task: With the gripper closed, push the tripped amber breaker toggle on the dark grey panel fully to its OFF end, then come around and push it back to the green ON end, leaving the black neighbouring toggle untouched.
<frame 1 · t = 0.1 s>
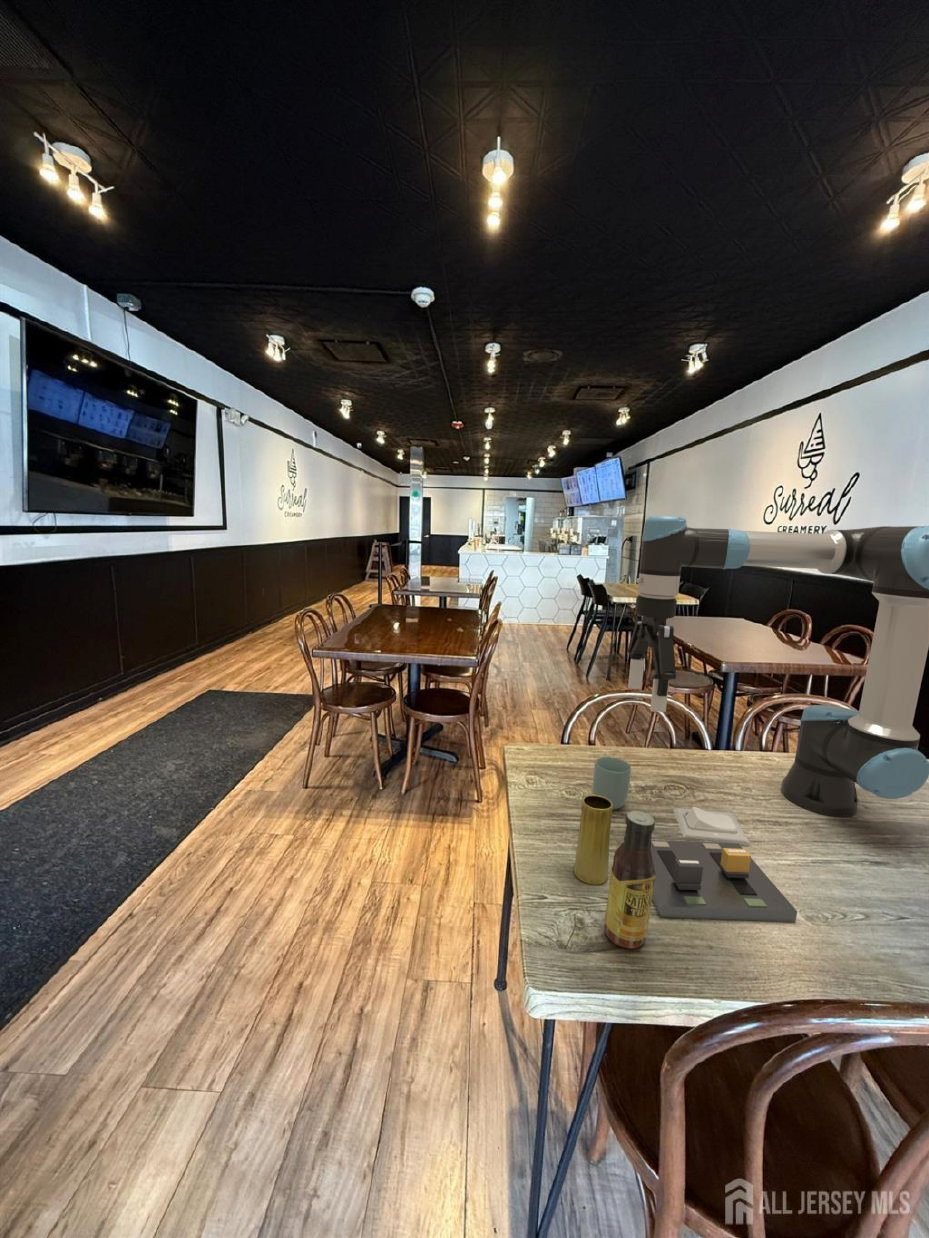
hand: (645, 699, 104), 28 cm above the table, fingers open, 13 cm apart
vase: (590, 874, 92), on the table
breaker panel: (702, 881, 92), on the table
light switch: (708, 830, 109), on the table
cup: (608, 805, 116), on the table
lever a: (735, 861, 90), point 5 cm above the table, slide at 0.5 cm
lever b: (687, 872, 87), point 5 cm above the table, slide at 4.0 cm
sauce bottle: (625, 936, 79), on the table
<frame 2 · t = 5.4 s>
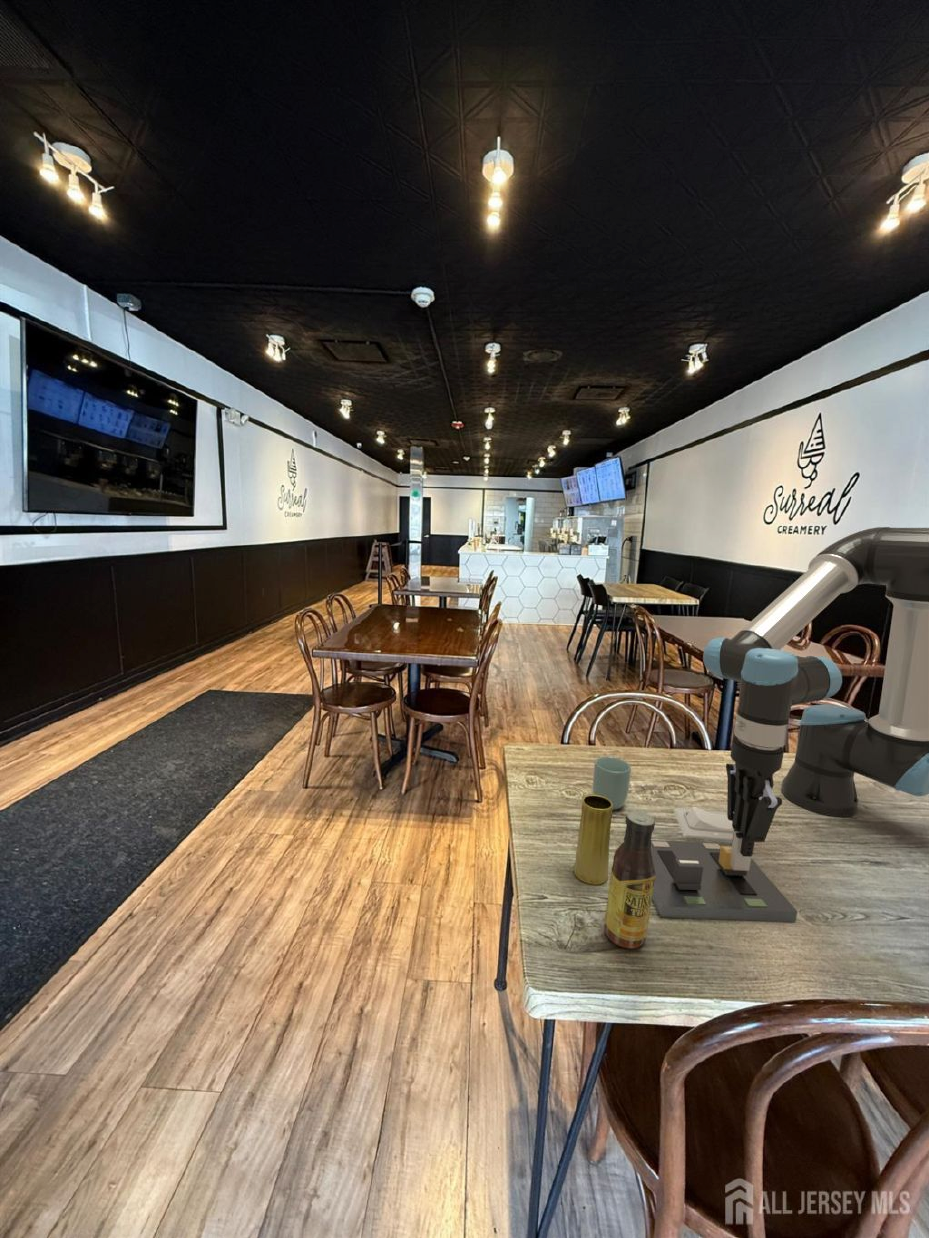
hand: (739, 867, 89), 4 cm above the table, fingers closed
lever a: (733, 859, 91), point 5 cm above the table, slide at -0.2 cm, touching gripper
everything else where it was.
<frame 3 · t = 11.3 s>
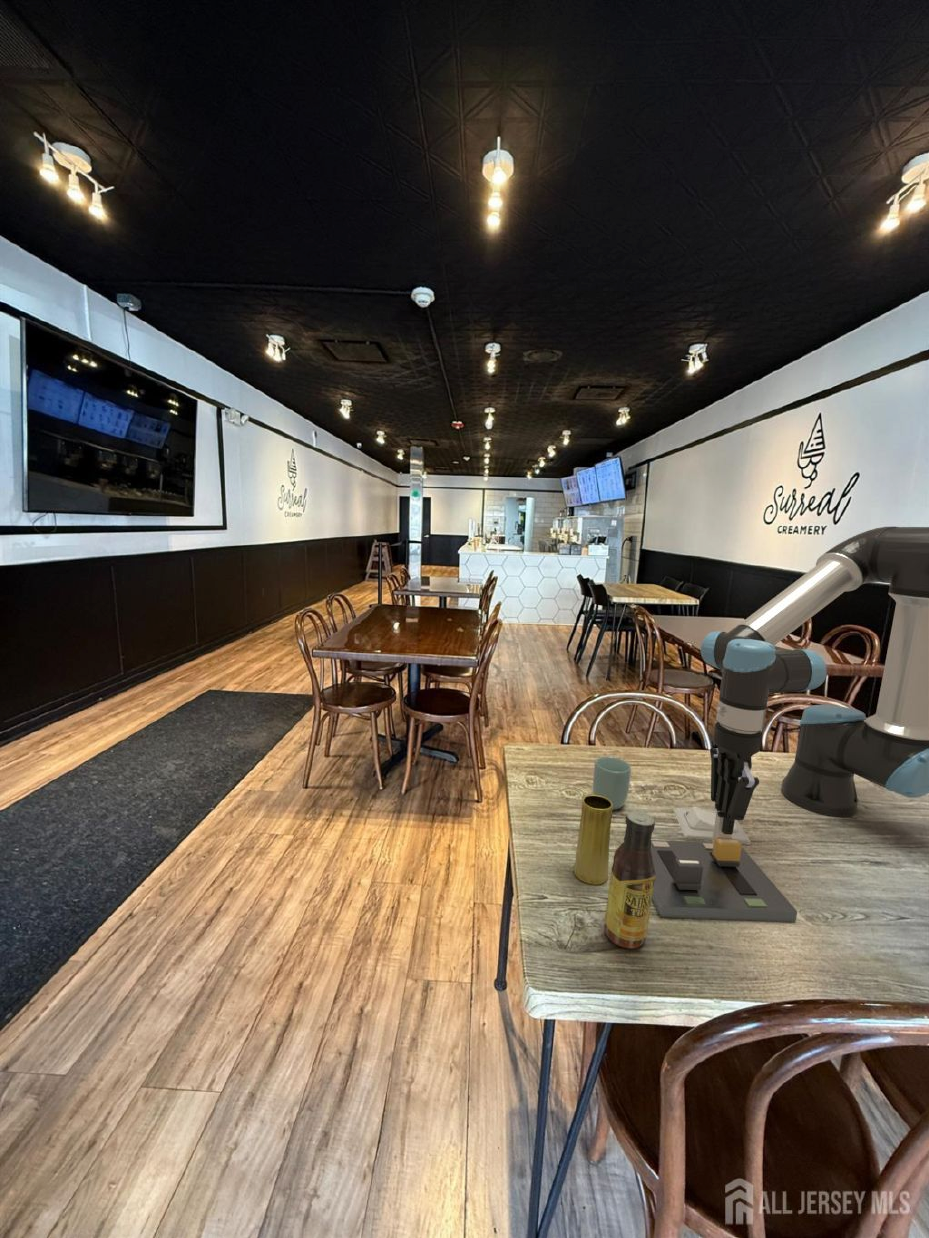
hand: (720, 845, 95), 5 cm above the table, fingers closed
lever a: (726, 850, 93), point 5 cm above the table, slide at -2.5 cm, touching gripper
everything else where it was.
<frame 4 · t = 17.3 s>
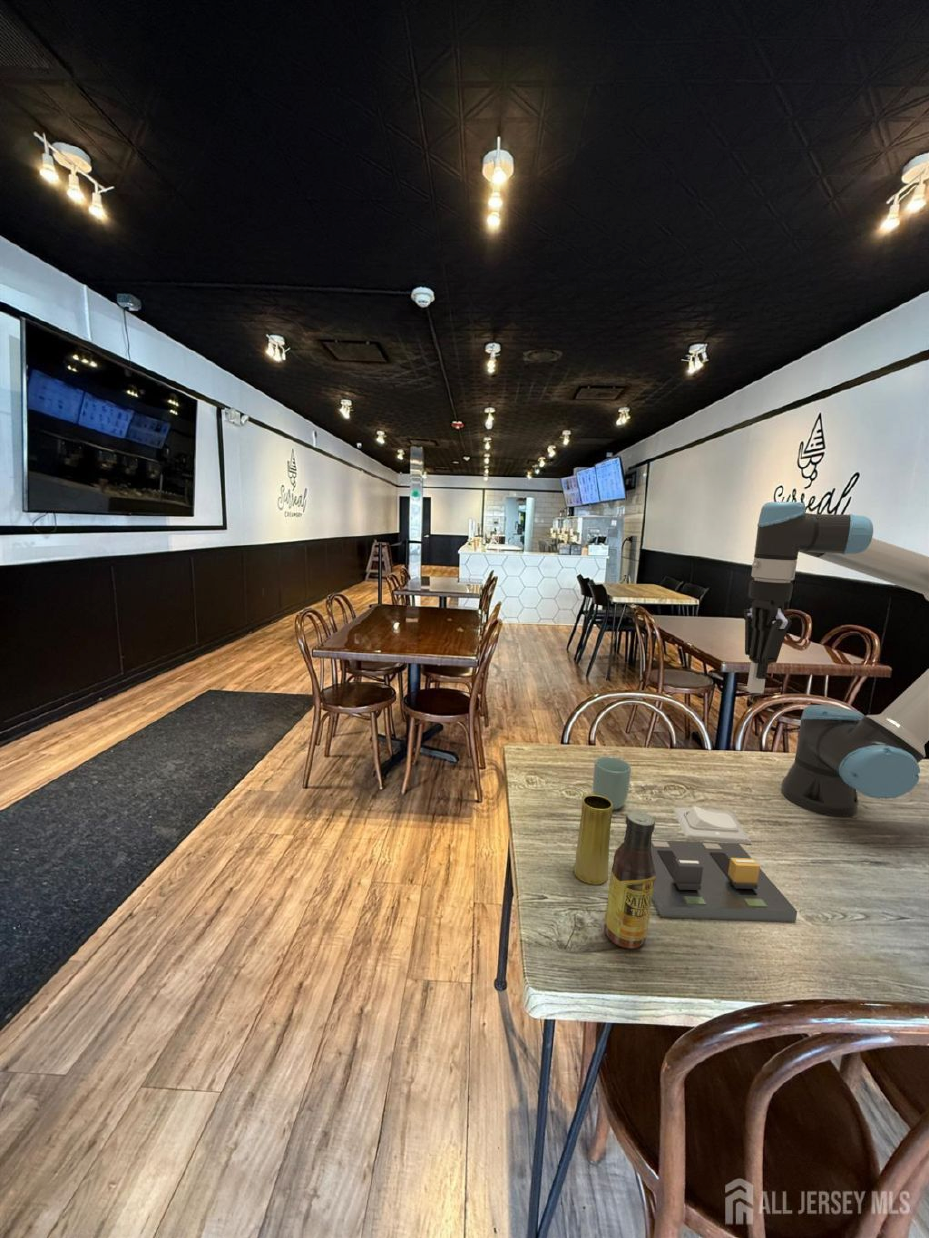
hand: (754, 691, 107), 29 cm above the table, fingers closed
lever a: (743, 871, 88), point 5 cm above the table, slide at 3.2 cm
everything else where it was.
at the end: lever a slide at 3.2 cm; lever b slide at 4.0 cm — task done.
